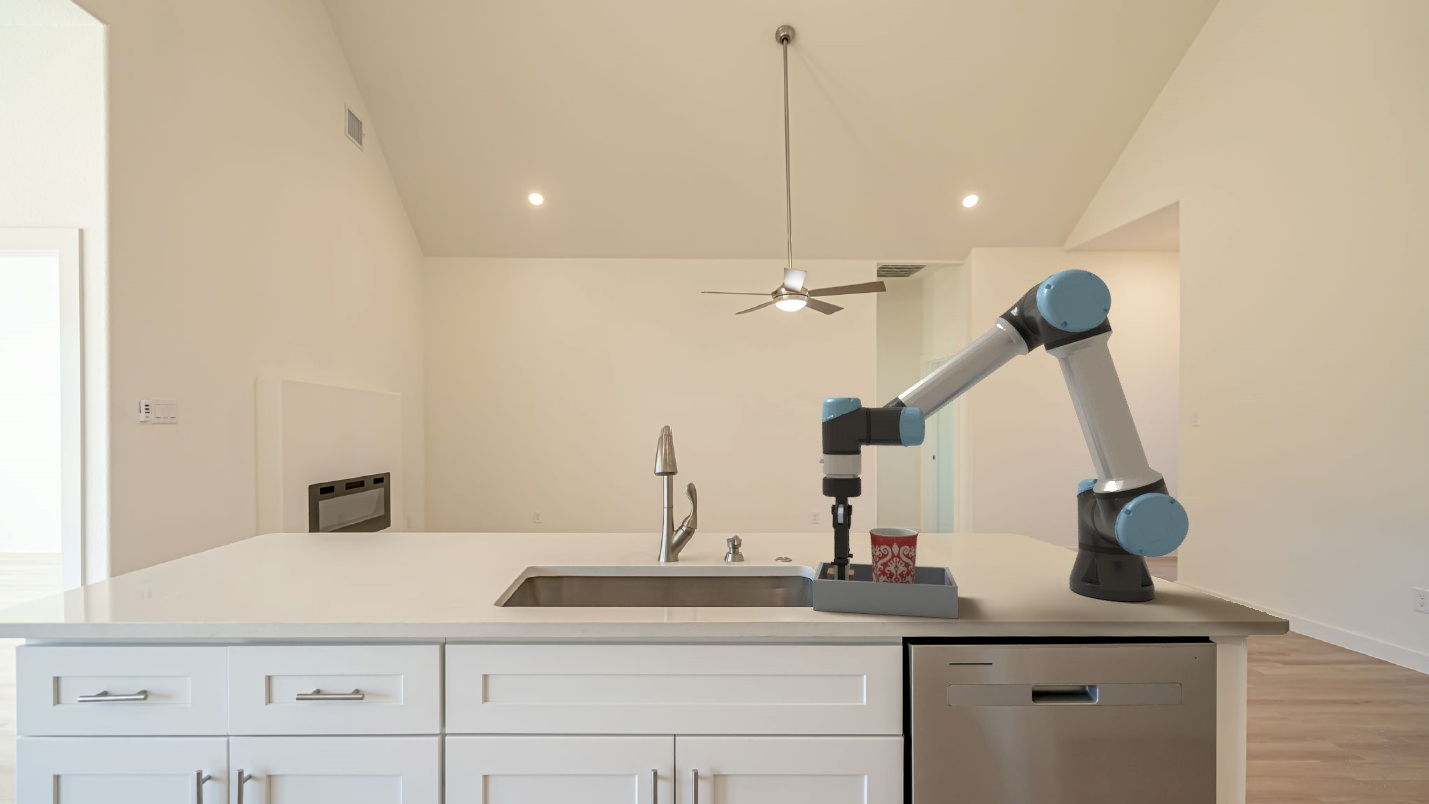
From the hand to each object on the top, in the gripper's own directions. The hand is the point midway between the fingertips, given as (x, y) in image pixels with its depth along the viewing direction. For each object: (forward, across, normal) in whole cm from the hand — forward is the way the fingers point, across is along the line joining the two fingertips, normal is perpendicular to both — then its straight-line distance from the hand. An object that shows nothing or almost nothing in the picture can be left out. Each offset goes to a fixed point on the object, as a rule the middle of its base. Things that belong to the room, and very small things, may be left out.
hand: (842, 594), depth 139 cm
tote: (+1, 0, +8) cm, 8 cm away
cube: (0, 0, 0) cm, 1 cm away
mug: (+1, 0, +10) cm, 10 cm away
